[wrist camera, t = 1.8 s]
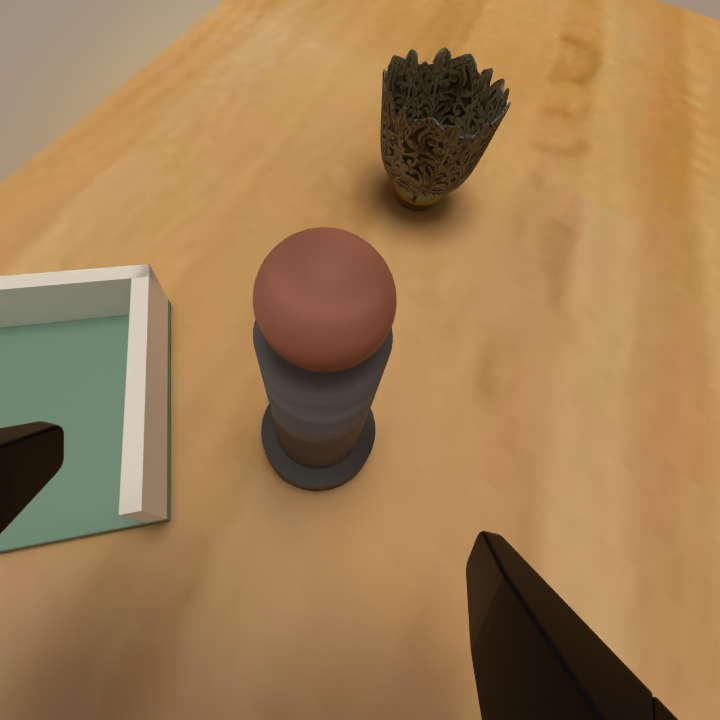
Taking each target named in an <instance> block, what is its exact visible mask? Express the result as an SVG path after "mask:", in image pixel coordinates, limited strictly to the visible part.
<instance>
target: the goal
mask: <svg viewBox="0 0 720 720" xmlns="http://www.w3.org/2000/svg"><path fill="white" fill-rule="evenodd" d="M170 391H171V304H170V302H169V300H168V298H167V296H166V294H165V292H164V291H163V289H162V287H161V285H160V283H159V281H158V280H157V278H156V276H155V274H154V272H153V270H152V268H151V267H150V265H149V264H145V265H133V266H120V267H108V268H96V269H84V270H71V271H59V272H47V273H35V274H22V275H10V276H0V428H4V427H9V426H15V425H20V424H26V423H31V422H37V421H44V422H49V423H53V424H56V425H60V426H61V427H62V428H63V430H64V461H63V464H62V466H61V468H60V470H59V471H58V472H57V473H56V475H55V476H54V477H53V478H52V479H51V480H50V481H49V482H48V483H47V484H46V485H45V487H44V488H43V489H42V490H41V491H40V492H39V493H38V494H37V495H36V496H35V497H34V498H33V500H32V501H31V502H30V503H29V504H28V505H27V506H26V507H25V508H24V509H23V510H22V512H21V513H20V514H19V515H18V516H17V517H16V518H15V519H14V520H13V521H12V522H11V523H10V524H9V525H8V526H7V528H6V529H5V530H4V531H3V532H2V533H1V534H0V553H2V552H7V551H12V550H17V549H23V548H28V547H33V546H38V545H43V544H48V543H54V542H59V541H64V540H69V539H74V538H80V537H85V536H90V535H95V534H100V533H105V532H111V531H116V530H121V529H126V528H131V527H137V526H142V525H147V524H152V523H157V522H163V521H168V520H170Z"/></svg>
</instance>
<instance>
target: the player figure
mask: <svg viewBox="0 0 720 720" xmlns="http://www.w3.org/2000/svg"><path fill="white" fill-rule="evenodd" d="M253 307H254V315H255V318H256V320H255V323H254V328H253V342H254V348H255V351H256V355H257V359H258V363H259V367H260V370H261V374H262V378H263V382H264V385H265V389H266V393H267V397H268V401H269V405H268V407H267V409H266V411H265V414H264V417H263V421H262V432H261V434H262V442H263V446H264V449H265V452H266V454H267V456H268V459H269V461H270V463H271V465H272V467H273V468H274V470H275V471H276V472H277V473H278V474H279V475H280V476H281V477H282V478H283V479H284V480H285V481H287V482H288V483H290V484H292V485H294V486H296V487H298V488H301V489H305V490H311V491H323V490H329V489H333V488H336V487H339V486H341V485H343V484H345V483H346V482H348V481H349V480H351V479H352V478H353V477H354V476H355V475H356V474H357V473H358V472H359V471H360V470H361V468H362V467H363V465H364V463H365V462H366V460H367V458H368V456H369V454H370V452H371V449H372V446H373V443H374V438H375V421H374V417H373V413H372V411H371V408H370V407H371V405H372V402H373V399H374V396H375V394H376V391H377V388H378V386H379V383H380V380H381V377H382V375H383V372H384V369H385V367H386V364H387V361H388V358H389V356H390V352H391V349H392V342H393V334H392V324H393V321H394V317H395V312H396V289H395V284H394V280H393V277H392V274H391V272H390V270H389V268H388V266H387V264H386V262H385V261H384V259H383V258H382V256H381V255H380V254H379V253H378V252H377V251H376V250H375V248H374V247H372V246H371V245H370V244H369V243H368V242H366V241H365V240H363V239H362V238H360V237H358V236H356V235H355V234H352V233H350V232H347V231H344V230H341V229H336V228H322V227H321V228H312V229H307V230H304V231H301V232H298V233H296V234H293V235H291V236H289V237H288V238H286V239H284V240H283V241H282V242H280V243H279V244H278V245H277V246H276V247H275V248H274V249H273V250H272V251H271V252H270V253H269V254H268V256H267V257H266V258H265V260H264V261H263V263H262V265H261V267H260V269H259V271H258V274H257V277H256V279H255V284H254V290H253Z"/></svg>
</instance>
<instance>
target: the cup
mask: <svg viewBox="0 0 720 720" xmlns="http://www.w3.org/2000/svg"><path fill="white" fill-rule="evenodd" d="M417 55H418V53H417V52H416V51H414V50H413V49H412V50H410V51H409V53H408V54H407V56H406V58H405V59H404V58H402V57H399V56H395V55H394V56H393V57H392V59H391V61H390V64H389V66H388V70H387V71H385V70H383V87H382V109H381V154H382V160H383V163H384V167H385V169H386V171H387V173H388V175H389V177H390V178H391V179H392V180H393V182H394V183H393V187H394V192H395V195H396V197H397V199H398V200H399V201H400V202H401V203H402V204H403V205H405V206H407V207H409V208H411V209H416V210H425V209H429V208H431V207H433V206H434V205H436V204H437V203H438V202H439V201H440V199H441V198H442V196H443V195H444V194H447V193H450V192H451V191H453V190H455V189H456V188H458V187H459V186H460V185H461V184H462V183H463V182H464V181H465V180H466V179H467V178H468V177H469V176H470V174H471V173H472V171H473V170H474V168H475V167H476V165H477V164H478V162H479V160H480V159H481V157H482V155H483V153H484V152H485V150H486V148H487V146H488V145H489V143H490V141H491V139H492V137H493V136H494V134H495V132H496V130H497V128H498V126H499V125H500V123H501V121H502V119H503V117H504V116H505V114H506V112H507V110H508V108H509V106H510V104H511V102H509V103H508V105H507V107H506V104H507V102H506V101H507V98H508V94H509V88H507V89H506V90H505V92H504V79H500V80H497V81H496V82H494V83H493V84H492V85H491V87H490V81H491V77H492V73H493V69H492V68H490V69H485V70H483V71H482V73H481V74H482V75H481V74H479V72H478V71H477V64H476V62H475V59H474V57H473V56H472V55H471V54H465V55H461V56H458V57H456V58H453V59H451V54H450V51H449V50H448V49H447V48H442V49H441V50H439V52H438V53H437V55H436V56H435V59H436V60H435V59H434V61H435V62H434V61H433V62H434V63H433V64H428V63H427V62H426V61H424V62H421V63H422V64H418V56H417ZM436 57H437V58H436ZM480 75H481V76H480ZM503 92H504V93H503ZM503 111H504V112H503Z"/></svg>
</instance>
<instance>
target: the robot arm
mask: <svg viewBox="0 0 720 720" xmlns="http://www.w3.org/2000/svg"><path fill="white" fill-rule="evenodd" d="M63 461H64V430H63V428H62V427H61V426H60V425H56V424H53V423H49V422H44V421H37V422H31V423H26V424H20V425H15V426H9V427H4V428H0V534H1V533H2V532H3V531H4V530H5V529H6V528H7V526H8V525H9V524H10V523H11V522H12V521H13V520H14V519H15V518H16V517H17V516H18V515H19V514H20V513H21V512H22V510H23V509H24V508H25V507H26V506H27V505H28V504H29V503H30V502H31V501H32V500H33V498H34V497H35V496H36V495H37V494H38V493H39V492H40V491H41V490H42V489H43V488H44V487H45V485H46V484H47V483H48V482H49V481H50V480H51V479H52V478H53V477H54V476H55V475H56V473H57V472H58V471H59V470H60V468H61V466H62V464H63ZM466 580H467V597H468V614H469V631H470V645H471V654H472V661H473V668H474V674H475V680H476V686H477V693H478V699H479V705H480V711H481V717H482V720H678V719H677V718H676V717H675V716H674V715H673V714H672V713H671V712H670V711H669V710H668V709H667V708H666V707H665V706H664V705H663V703H662V702H661V701H660V700H659V699H658V698H656V697H653V696H652V693H651V691H650V690H649V689H648V688H647V687H646V686H645V685H644V684H643V683H642V682H641V681H640V680H639V679H638V678H637V677H636V675H635V674H634V673H633V672H632V671H631V670H630V669H629V668H628V667H627V666H626V665H625V664H624V663H623V662H622V661H621V660H620V659H619V658H618V657H617V656H616V655H615V654H614V653H613V652H612V650H611V649H610V648H609V647H608V646H607V645H606V644H605V643H604V642H603V641H602V640H601V639H600V638H599V637H598V636H597V635H596V634H595V633H594V632H593V631H592V630H591V629H590V628H589V626H588V625H587V624H586V623H585V622H584V621H583V620H582V619H581V618H580V617H579V616H578V615H577V614H576V613H575V612H574V611H573V610H572V609H571V608H570V607H569V606H568V605H567V604H566V602H565V601H564V600H563V599H562V598H561V597H560V596H559V595H558V594H557V593H556V592H555V591H554V590H553V589H552V588H551V587H550V586H549V585H548V584H547V583H546V582H545V581H544V580H543V579H542V577H541V576H540V575H539V574H538V573H537V572H536V571H535V570H534V569H533V568H532V567H531V566H530V565H529V564H528V563H527V562H526V561H525V560H524V559H523V558H522V557H521V556H520V555H519V553H518V552H517V551H516V550H515V549H514V548H513V547H512V546H511V545H510V544H509V543H508V542H507V541H506V540H505V539H504V538H503V537H502V536H501V535H499V534H495V533H491V532H487V531H482V532H480V533H479V534H478V536H477V538H476V541H475V543H474V546H473V548H472V551H471V553H470V556H469V558H468V561H467V566H466Z"/></svg>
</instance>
